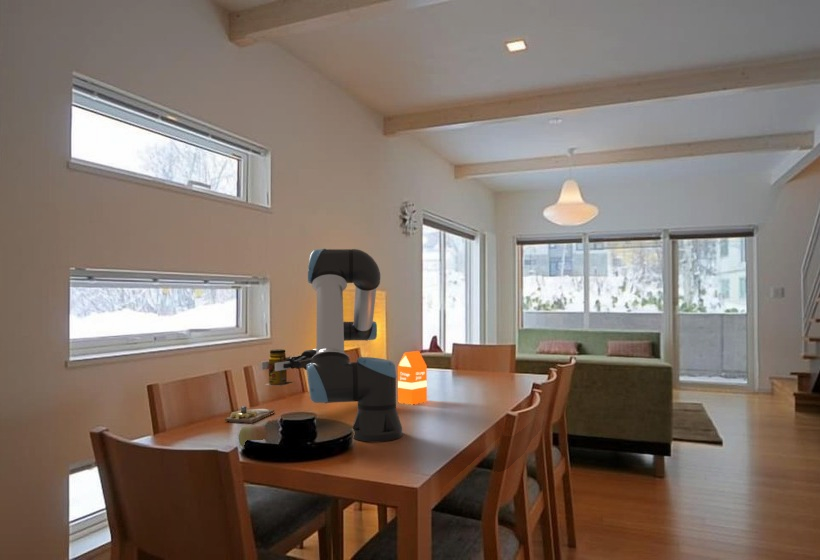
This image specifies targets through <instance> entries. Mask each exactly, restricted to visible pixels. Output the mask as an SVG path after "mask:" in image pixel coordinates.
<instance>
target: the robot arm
mask: <svg viewBox="0 0 820 560" xmlns="http://www.w3.org/2000/svg"><path fill="white" fill-rule="evenodd" d="M307 282H308V283H309V284H311V286H312V288H313V290H314V291H316V332H315V333H316V336H315V337H316V348H314V349H307V350H304V351H302V353H301V354H300V355H296V356H286V359H287V361H285V362H278V363H275V371H280V370H286V369H287V370H290V369H292V370H294V369H297V370H299V369H304V370H306V375H307V384H308V391H309V393H308V394H309V399H310V401H312V402H313V403H314V404H315V403H317V404H318V403H319V404H320V403H321V404H322V403H323V404H330V403H350V402H357V412H356V415H355V418H354V421H353V424H352V428H353V429H354V431H355V435H354V438H353V439H355V440H357V441H362V442H367V443H368V442H371V443H372V442H375V443H376V442H377V443H378V442H379V443H381V442H389V441H395V440H398V439H400V438H401V437H402V436H403V427H402V423H401V420H400V417H399V414H398V412H397V384H396V383H397V378H398V375H397V372H396V371H397V369H396V364H395V363H394V362H393V361H391V360H389V359H384V358H379V357H369V356H359V357H357V359H356V361H355V362H354V361H353V362H350V357H349V355H348V354H347V353H346V352H345V341H347V342H348V341H374V340H376V339H377V336H378V326H377V325H378V324H377V322H376V321H374V316H375V315H374V314H375V313H374V312H375V306H376V305H375V304H376V297H377V288H378V287H379V286H380V284H381V271H380V267H379V266H378V264H377V262H376V261H375V259H374V258H373V257H372V256H371V255H369V253H367V252H365V251H363V250H361V249H358V248H357V249H356V248H352V249H351V248H350V249H343V248H342V249H338V248H336V249H335V248H333V249H332V248H331V249H330V248H329V249H326V248H322V249H321V248H318V249H314V250H312V252H311V253H310V255H309V260H308V269H307ZM348 284H353V285H354V286H355V289H354V290H355V291H354V292H355V293H354V307H353V308H354V309H353V321H344V290H346V289H347V287H348ZM260 370H261V371H263V370H269V360H265V361H260Z"/></svg>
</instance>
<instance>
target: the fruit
mask: <svg viewBox="0 0 820 560" xmlns="http://www.w3.org/2000/svg"><path fill="white" fill-rule="evenodd" d="M250 422H251V423H250V424H246V425H243V426H242V427H241V428H240V430H239V432H238V442H239V445H240V446H241V447H242V448H243V449H245V448H244V445H245V442H246V441H247V440H263V439H266V438H268V431H267V428H266V426H265V425H263V424H261V423H260V424H259V423H258V424H257V423H256V424H253V423H252V421H251V420H250ZM266 440H267V439H266Z"/></svg>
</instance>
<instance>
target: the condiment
mask: <svg viewBox="0 0 820 560" xmlns="http://www.w3.org/2000/svg"><path fill="white" fill-rule="evenodd" d="M286 355H287V354H286V349H277V348H276V349H270V351H269V358H268V361H269V369H268V383H266V384H265V383H264V385H265V386H281V387H282V386H286V385H289V384H292V383H294V381H287V379H288V378H287V377H288V376H287V371H288V369H286V370H280V371H275V363H278V362H285V361H287V359H286V357H287V356H286Z"/></svg>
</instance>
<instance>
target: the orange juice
mask: <svg viewBox="0 0 820 560" xmlns="http://www.w3.org/2000/svg"><path fill="white" fill-rule="evenodd" d="M427 367H428V366H427V364H426V361H425V360H424V358H423V356H422V354H421V352H420V350H416V351H406V352H404V353H403V355H402V357H401V359H400V360H399V363H398V365H397V393H398V394H397V396H398V397H397V398H398V400H397V403H398V402H399V404H403V403H405V404H404V405H408V404H411V405H410V406H414V405H413V404H415V405H419V404H418V403H420V404H424V403H427V402H428V391H427V390H428V388H427V387H428V381H427V380H428V379H427V378H428V377H427V376H428V375H427V373H428V372H427V371H428V370H427ZM423 402H424V403H423Z"/></svg>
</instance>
